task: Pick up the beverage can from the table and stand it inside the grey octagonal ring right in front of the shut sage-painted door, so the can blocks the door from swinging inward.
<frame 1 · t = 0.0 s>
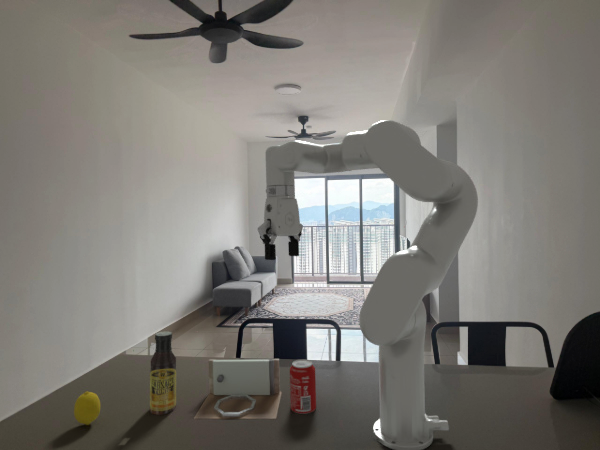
hand: (282, 257, 104), 37 cm above the table, tool pointing down, fingers open, 9 cm apart
door: (243, 378, 103), point 6 cm above the table, hinge at 0.0°
grey octagonal ring: (235, 407, 97), resting on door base
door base: (240, 408, 99), on the table
sauce bottle: (164, 412, 98), on the table
lemon: (88, 425, 93), on the table
beverage can: (303, 411, 96), on the table
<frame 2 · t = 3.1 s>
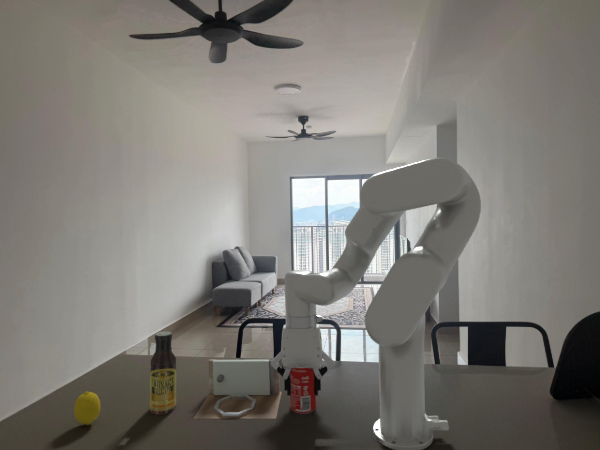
hand: (302, 392, 96), 5 cm above the table, tool pointing down, fingers closed on beverage can, 6 cm apart
beverage can: (303, 411, 96), on the table, touching gripper
everything else where it was.
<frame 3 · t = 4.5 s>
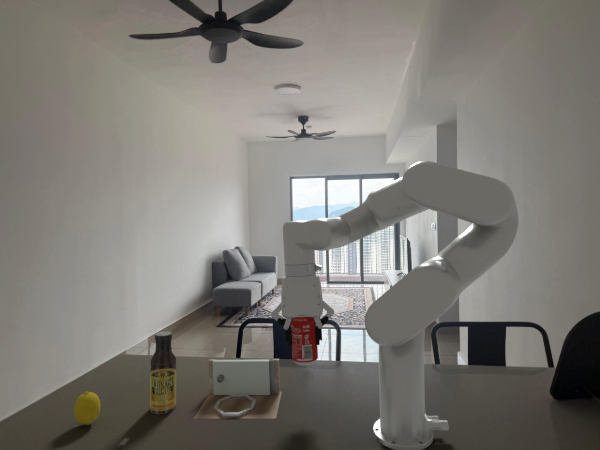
hand: (304, 343, 96), 17 cm above the table, tool pointing down, fingers closed on beverage can, 6 cm apart
beverage can: (305, 363, 96), point 12 cm above the table, touching gripper
everything else where it was.
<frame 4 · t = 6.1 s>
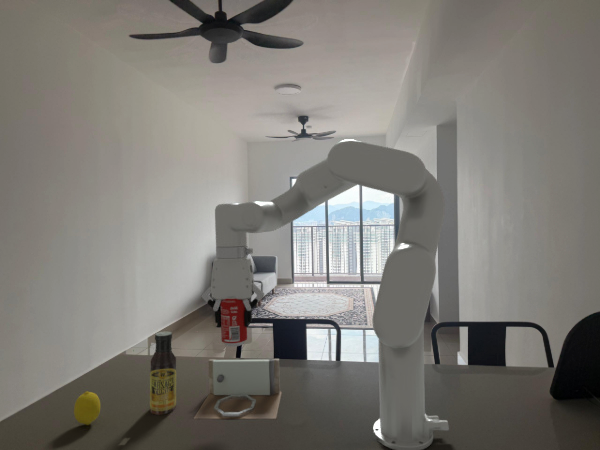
hand: (233, 325, 97), 22 cm above the table, tool pointing down, fingers closed on beverage can, 6 cm apart
beverage can: (234, 344, 97), point 17 cm above the table, touching gripper
everything else where it was.
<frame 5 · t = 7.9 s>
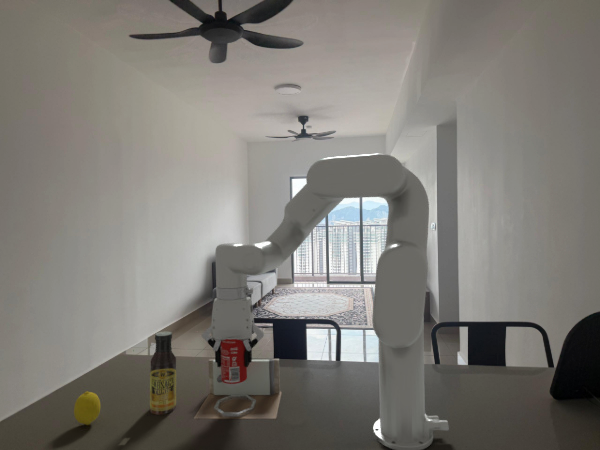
hand: (233, 364, 97), 12 cm above the table, tool pointing down, fingers closed on beverage can, 6 cm apart
beverage can: (234, 383, 97), point 7 cm above the table, touching gripper
everything else where it was.
when the fingers open (7 cm above the table, at t = 9.3 s): beverage can drops 1 cm, resting on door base.
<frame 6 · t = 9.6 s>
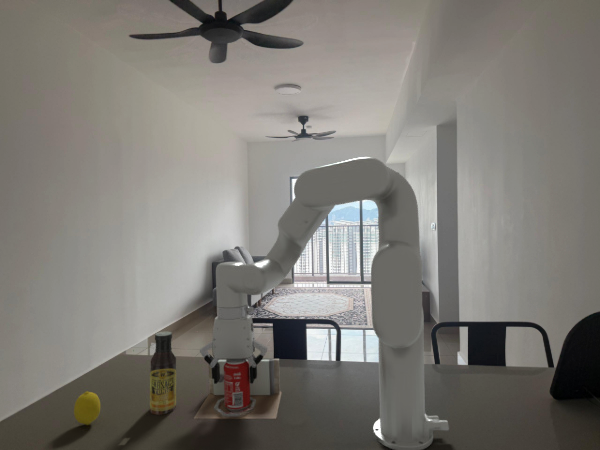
hand: (234, 381, 97), 8 cm above the table, tool pointing down, fingers open, 8 cm apart
beverage can: (237, 408, 97), point 1 cm above the table, touching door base
everything else where it was.
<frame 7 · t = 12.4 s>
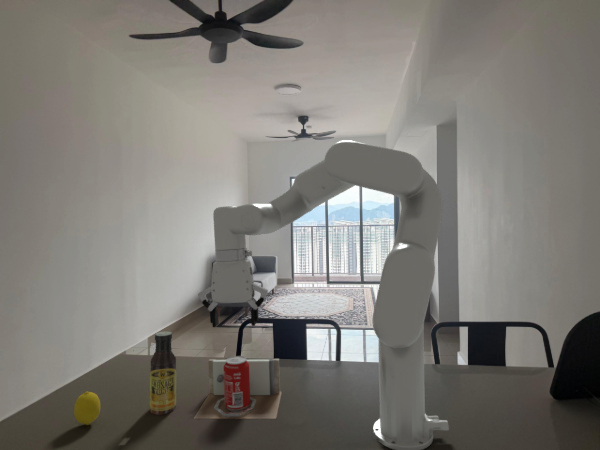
hand: (234, 325, 97), 22 cm above the table, tool pointing down, fingers open, 9 cm apart
nothing on the table moved.
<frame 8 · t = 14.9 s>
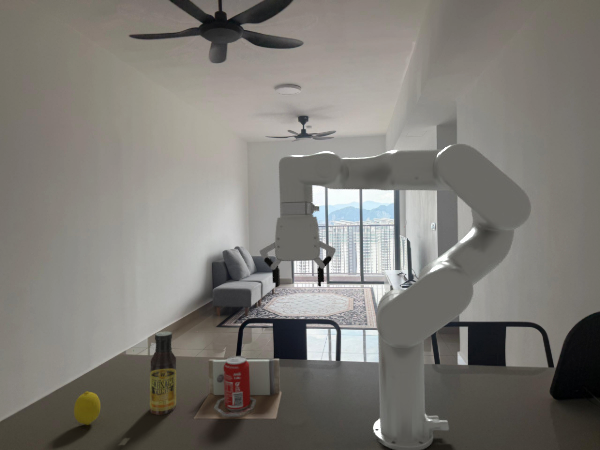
hand: (298, 285, 89), 32 cm above the table, tool pointing down, fingers open, 9 cm apart
nothing on the table moved.
at the end: beverage can 0.6 cm off-centre on the grey octagonal ring, point 0.0 cm above the grey octagonal ring's base; beverage can tilted 0°; door at +0° (first picture: +0°) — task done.
